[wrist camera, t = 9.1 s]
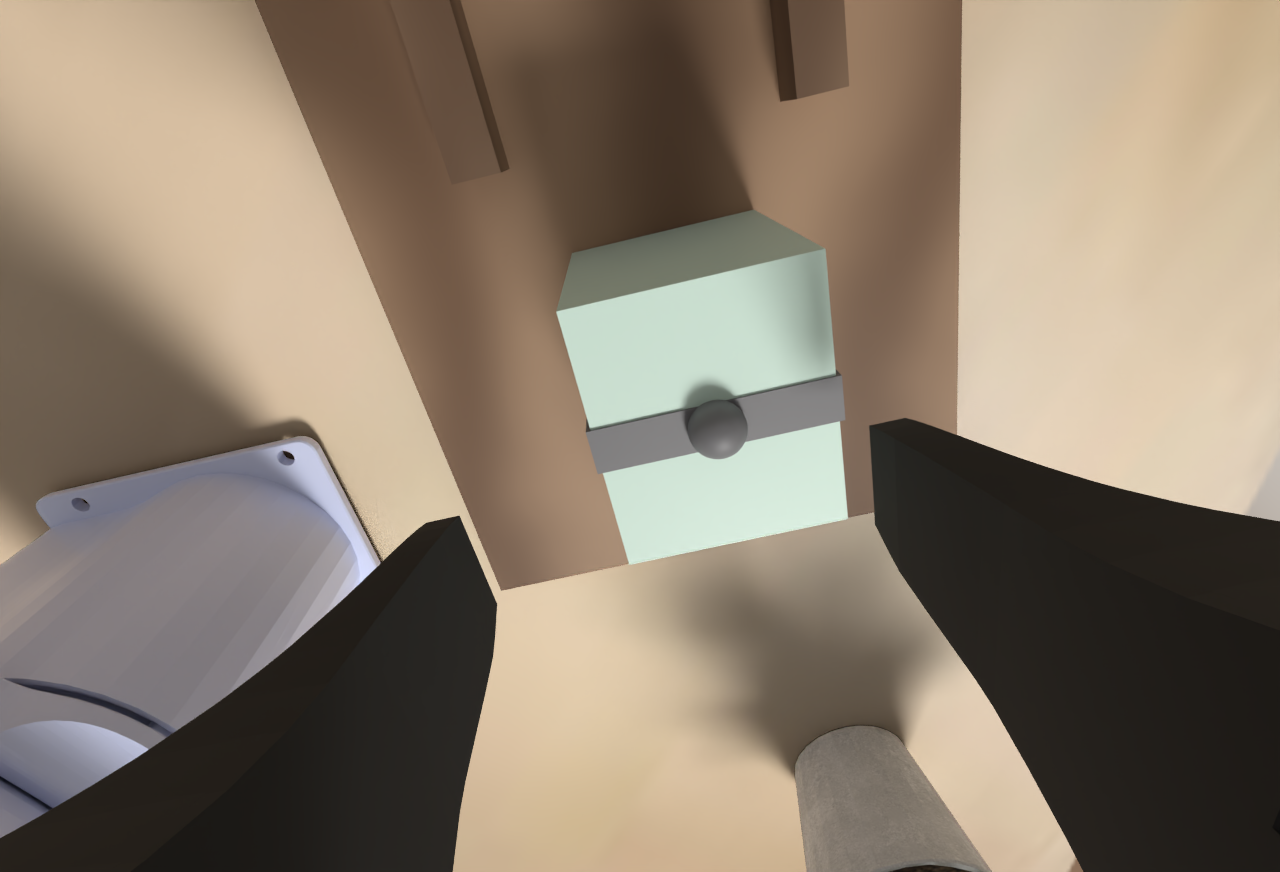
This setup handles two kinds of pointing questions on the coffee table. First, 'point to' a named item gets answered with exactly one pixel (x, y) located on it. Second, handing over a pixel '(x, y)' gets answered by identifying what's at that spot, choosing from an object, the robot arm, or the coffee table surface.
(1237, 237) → the coffee table surface
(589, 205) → the shelf
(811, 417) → the sage block
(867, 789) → the house plant
